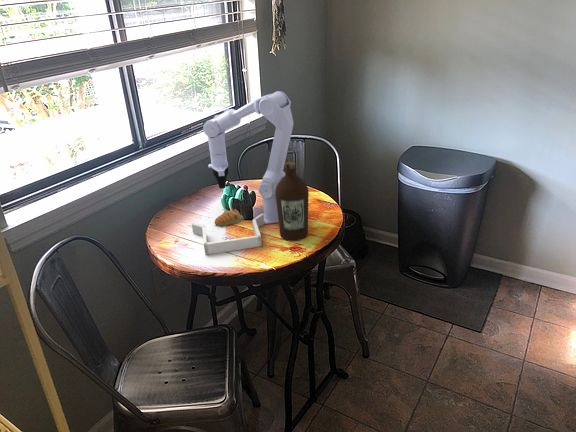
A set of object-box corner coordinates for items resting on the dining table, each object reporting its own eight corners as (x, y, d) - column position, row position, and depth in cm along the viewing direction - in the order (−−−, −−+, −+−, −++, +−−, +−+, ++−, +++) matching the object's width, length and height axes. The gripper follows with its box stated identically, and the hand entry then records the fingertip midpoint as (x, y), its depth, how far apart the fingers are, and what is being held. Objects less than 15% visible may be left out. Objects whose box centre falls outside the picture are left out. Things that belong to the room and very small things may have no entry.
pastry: (221, 230, 162) (220, 220, 160) (210, 223, 166) (209, 214, 165) (243, 221, 167) (242, 211, 165) (232, 215, 172) (231, 206, 170)
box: (264, 222, 165) (263, 213, 163) (272, 244, 150) (271, 234, 149) (193, 232, 161) (191, 223, 159) (194, 256, 146) (192, 246, 145)
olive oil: (277, 227, 160) (273, 158, 149) (308, 226, 161) (306, 156, 149) (278, 243, 151) (273, 170, 140) (311, 241, 151) (308, 168, 140)
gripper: (205, 147, 171) (210, 181, 177) (207, 160, 159) (212, 196, 165) (224, 145, 173) (228, 179, 179) (228, 157, 160) (232, 194, 166)
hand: (222, 187), depth 172 cm, fingers closed
